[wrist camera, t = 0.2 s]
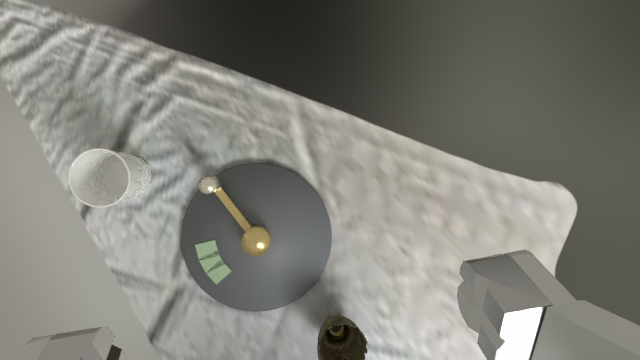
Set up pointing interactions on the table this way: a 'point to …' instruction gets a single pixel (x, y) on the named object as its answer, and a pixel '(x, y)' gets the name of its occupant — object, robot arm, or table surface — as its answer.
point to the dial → (285, 248)
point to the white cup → (107, 177)
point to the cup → (341, 341)
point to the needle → (239, 219)
